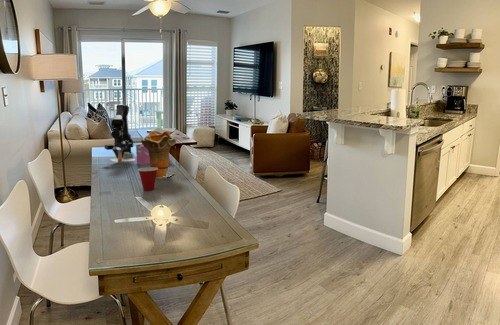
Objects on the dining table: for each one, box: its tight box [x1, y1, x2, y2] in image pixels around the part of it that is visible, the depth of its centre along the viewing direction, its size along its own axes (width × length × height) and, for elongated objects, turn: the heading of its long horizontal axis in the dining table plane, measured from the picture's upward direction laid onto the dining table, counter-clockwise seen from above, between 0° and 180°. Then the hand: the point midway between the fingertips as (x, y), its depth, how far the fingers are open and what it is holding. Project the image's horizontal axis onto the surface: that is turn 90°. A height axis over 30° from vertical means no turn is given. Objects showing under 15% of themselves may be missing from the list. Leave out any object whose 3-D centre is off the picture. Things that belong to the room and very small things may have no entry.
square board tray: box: [108, 153, 137, 164], centre depth 290 cm, size 16×16×4 cm
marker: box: [117, 149, 122, 161], centre depth 284 cm, size 3×3×8 cm
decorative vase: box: [140, 130, 177, 180], centre depth 246 cm, size 21×23×28 cm
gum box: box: [135, 143, 171, 166], centre depth 285 cm, size 24×8×14 cm, turn 135°
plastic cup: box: [137, 166, 158, 192], centre depth 217 cm, size 11×11×12 cm
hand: (119, 157), depth 284 cm, fingers closed on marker, 3 cm apart
